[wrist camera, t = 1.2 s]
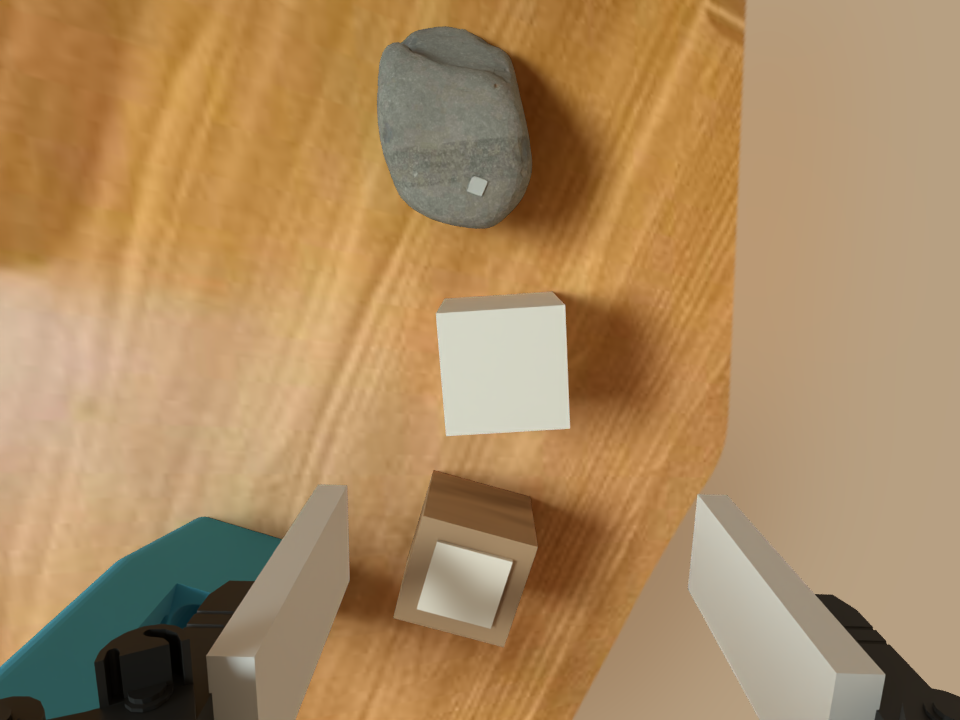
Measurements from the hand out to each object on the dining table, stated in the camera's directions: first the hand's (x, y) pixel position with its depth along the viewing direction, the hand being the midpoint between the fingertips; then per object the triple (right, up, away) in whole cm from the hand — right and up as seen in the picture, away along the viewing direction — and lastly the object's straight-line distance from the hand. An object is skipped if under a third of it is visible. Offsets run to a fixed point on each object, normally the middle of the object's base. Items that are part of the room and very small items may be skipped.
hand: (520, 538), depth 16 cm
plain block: (0, +5, +25) cm, 26 cm away
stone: (-2, +19, +22) cm, 29 cm away
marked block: (-2, -7, +28) cm, 29 cm away
